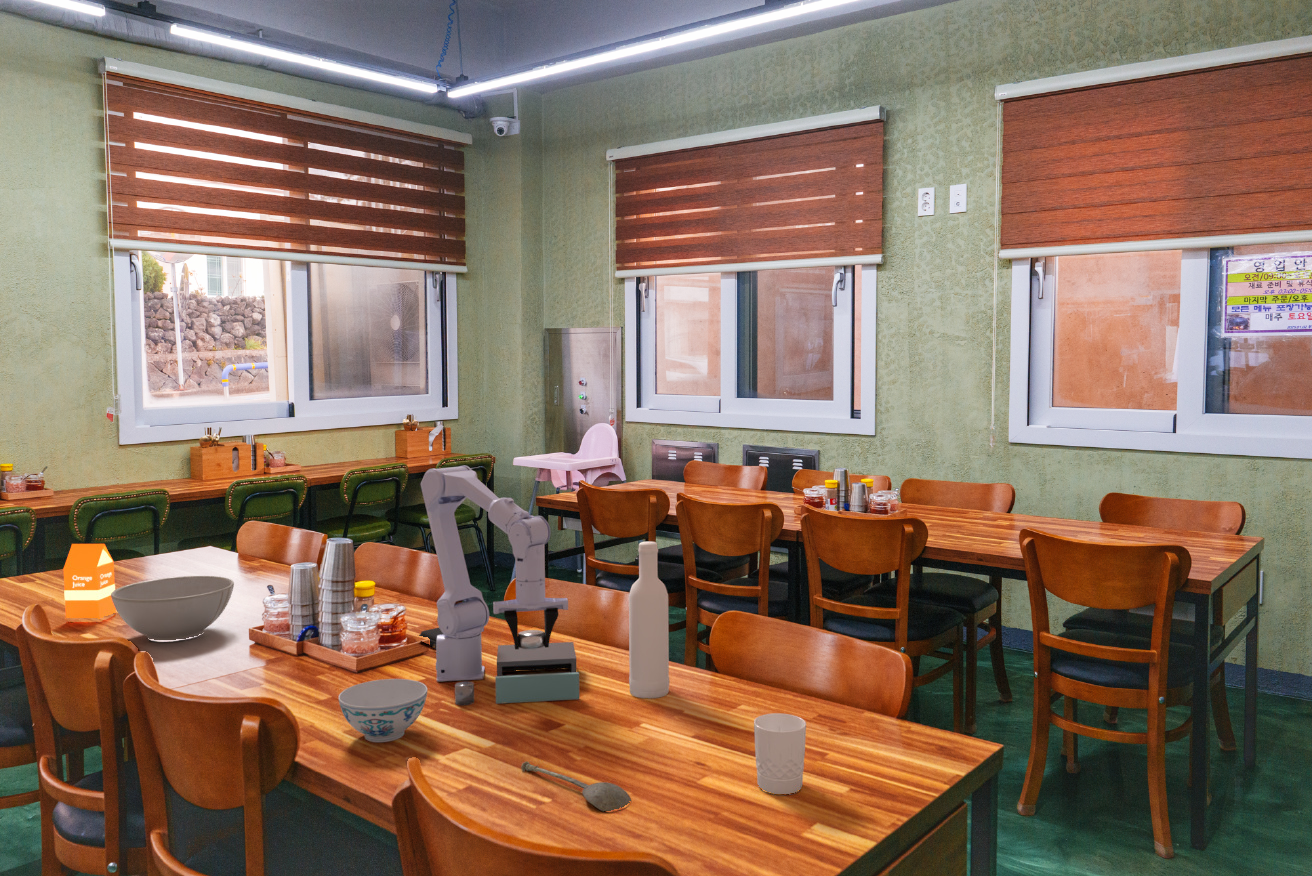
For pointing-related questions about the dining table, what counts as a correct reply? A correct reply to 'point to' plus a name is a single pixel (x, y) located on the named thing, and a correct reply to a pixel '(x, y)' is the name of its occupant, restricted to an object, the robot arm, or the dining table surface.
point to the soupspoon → (592, 790)
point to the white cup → (780, 752)
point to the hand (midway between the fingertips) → (531, 647)
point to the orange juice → (89, 582)
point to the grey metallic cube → (464, 693)
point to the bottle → (648, 629)
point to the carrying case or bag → (432, 635)
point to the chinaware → (383, 707)
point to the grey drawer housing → (536, 658)
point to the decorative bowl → (173, 605)
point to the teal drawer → (537, 687)
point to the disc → (531, 639)
